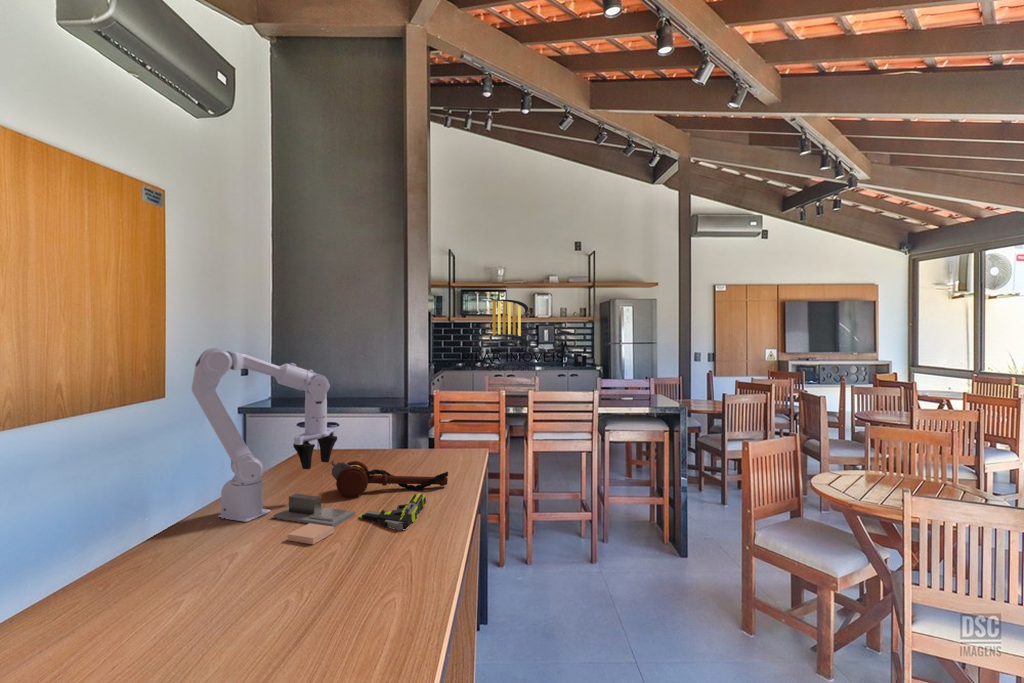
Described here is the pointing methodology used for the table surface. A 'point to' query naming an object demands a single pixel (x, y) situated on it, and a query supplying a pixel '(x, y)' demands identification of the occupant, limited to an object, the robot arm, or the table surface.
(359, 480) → the gavel
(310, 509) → the turner
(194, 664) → the table surface
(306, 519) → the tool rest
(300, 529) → the block
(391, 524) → the toy gun
